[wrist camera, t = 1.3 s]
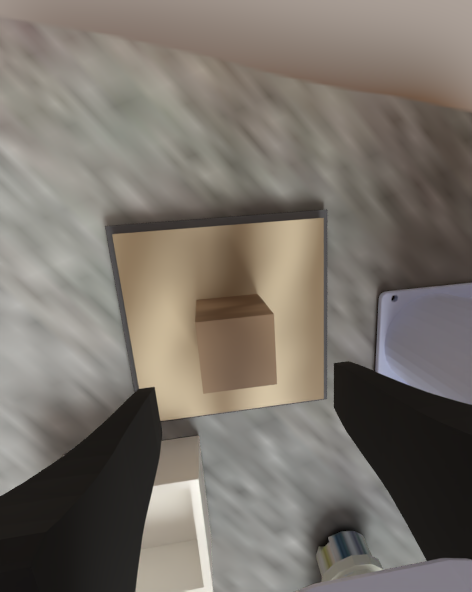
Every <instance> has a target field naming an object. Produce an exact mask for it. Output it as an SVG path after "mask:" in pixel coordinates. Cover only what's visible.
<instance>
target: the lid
mask: <svg viewBox="0 0 472 592" xmlns="http://www.w3.org/2000/svg"><path fill="white" fill-rule="evenodd" d="M112 237H113V242H114V248H115V254H116V260H117V265H118V271H119V277H120V283H121V288H122V294H123V300H124V305H125V311H126V317H127V323H128V328H129V334H130V340H131V345H132V351H133V357H134V363H135V368H136V374H137V380H138V386H139V389H141V388H149V387H155V392H156V398H157V404H158V410H159V416H160V421H165V420H172V419H179V418H186V417H194V416H201V415H208V414H216V413H223V412H230V411H238V410H245V409H252V408H260V407H267V406H274V405H281V404H289V403H296V402H303V401H311V400H318V399H324V218H314V219H301V220H288V221H275V222H263V223H250V224H237V225H224V226H211V227H198V228H185V229H172V230H160V231H147V232H134V233H121V234H112Z"/></svg>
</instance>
